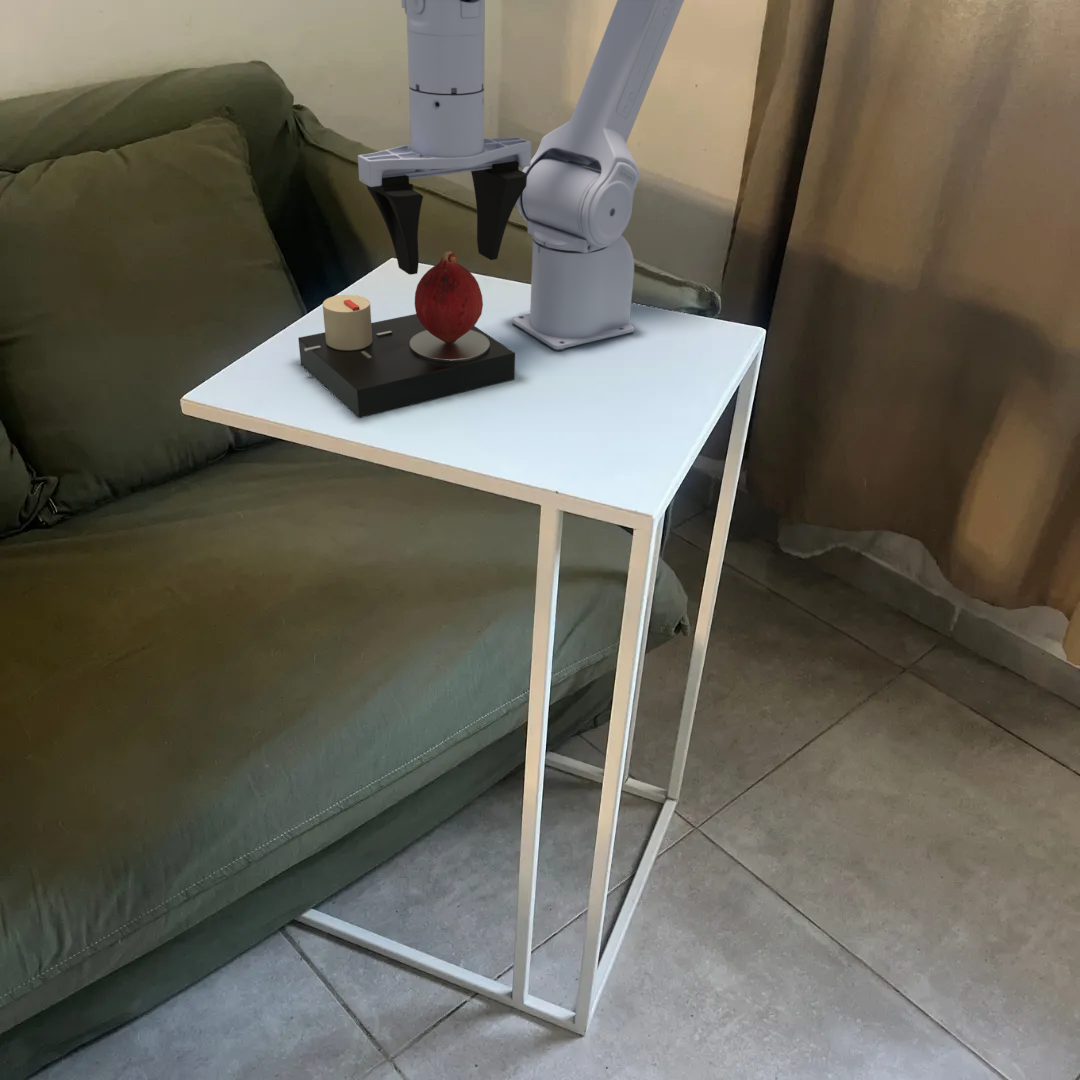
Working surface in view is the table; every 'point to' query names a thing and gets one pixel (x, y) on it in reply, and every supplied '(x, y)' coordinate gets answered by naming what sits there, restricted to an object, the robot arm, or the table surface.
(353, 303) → the knob
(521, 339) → the table surface
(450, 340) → the onion
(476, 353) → the burner
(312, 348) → the hob
